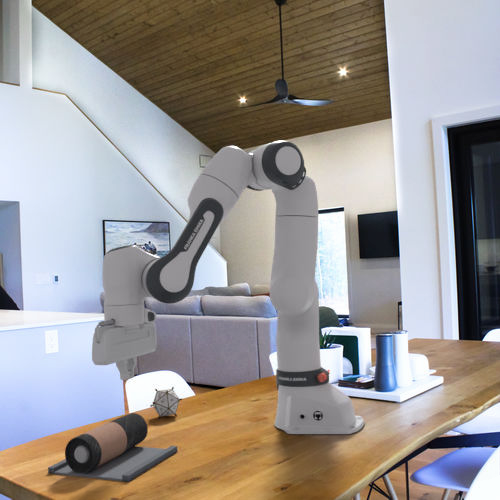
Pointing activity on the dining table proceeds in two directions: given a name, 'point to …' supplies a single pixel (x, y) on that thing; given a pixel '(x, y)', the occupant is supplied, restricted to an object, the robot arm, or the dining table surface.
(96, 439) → the travel mug
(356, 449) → the dining table surface
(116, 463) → the tray
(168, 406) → the game die
